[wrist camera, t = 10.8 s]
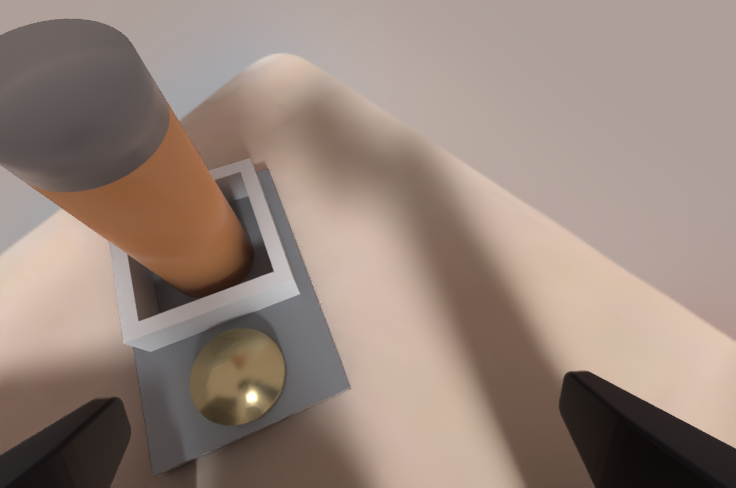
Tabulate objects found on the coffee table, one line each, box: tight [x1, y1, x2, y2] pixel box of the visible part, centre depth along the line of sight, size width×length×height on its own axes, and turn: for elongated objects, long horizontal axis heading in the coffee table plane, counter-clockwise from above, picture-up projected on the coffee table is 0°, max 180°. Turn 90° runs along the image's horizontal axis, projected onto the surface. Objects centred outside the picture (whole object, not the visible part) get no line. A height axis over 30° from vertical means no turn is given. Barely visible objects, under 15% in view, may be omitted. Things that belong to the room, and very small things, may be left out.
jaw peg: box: [0, 19, 254, 298], centre depth 16 cm, size 5×5×13 cm
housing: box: [109, 158, 351, 476], centre depth 20 cm, size 15×10×4 cm, turn 22°
